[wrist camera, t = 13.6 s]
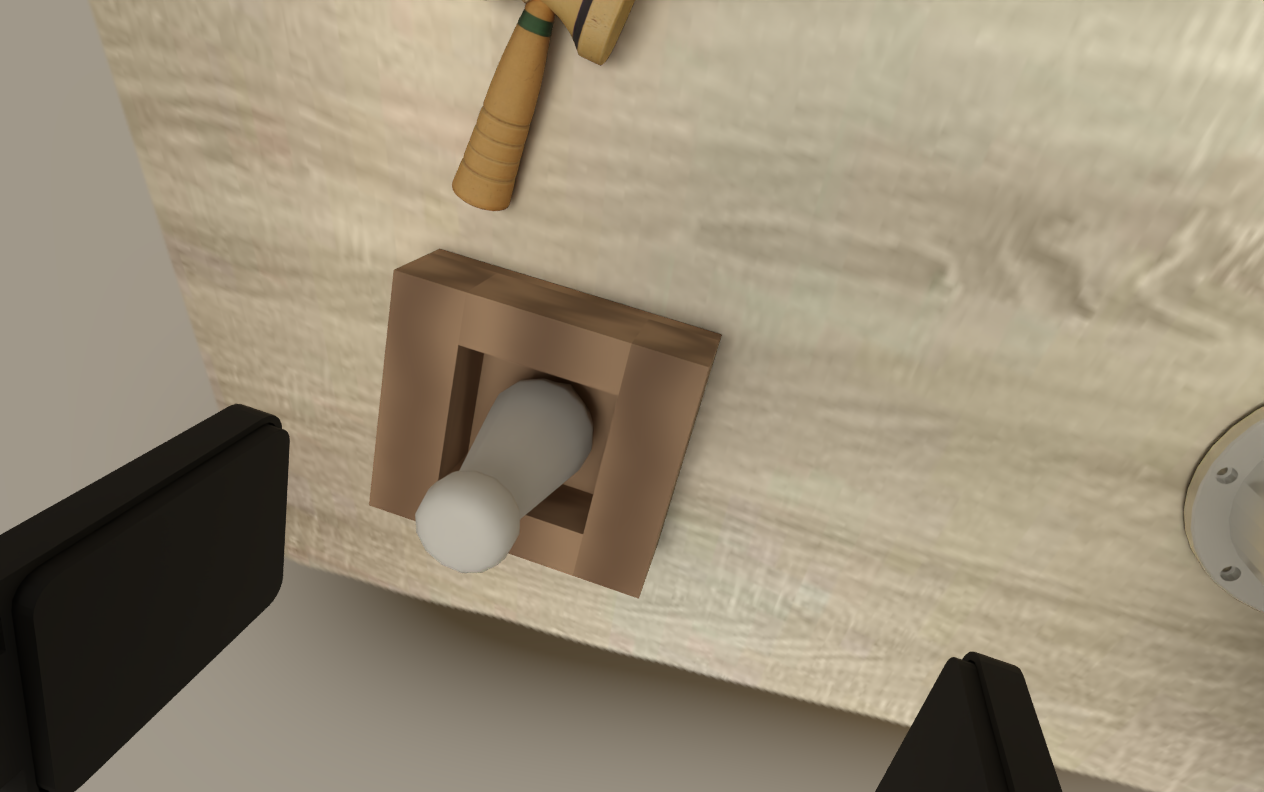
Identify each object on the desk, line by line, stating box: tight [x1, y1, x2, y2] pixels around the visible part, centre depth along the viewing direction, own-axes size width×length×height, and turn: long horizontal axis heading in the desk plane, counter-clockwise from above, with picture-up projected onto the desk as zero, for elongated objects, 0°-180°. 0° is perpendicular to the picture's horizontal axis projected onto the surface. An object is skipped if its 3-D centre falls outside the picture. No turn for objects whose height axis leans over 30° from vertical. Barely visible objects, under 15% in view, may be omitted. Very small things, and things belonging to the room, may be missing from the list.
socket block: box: [369, 249, 722, 598], centre depth 42 cm, size 16×14×5 cm
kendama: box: [452, 0, 635, 211], centre depth 34 cm, size 8×6×18 cm
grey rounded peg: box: [415, 379, 593, 573], centre depth 37 cm, size 6×6×13 cm
